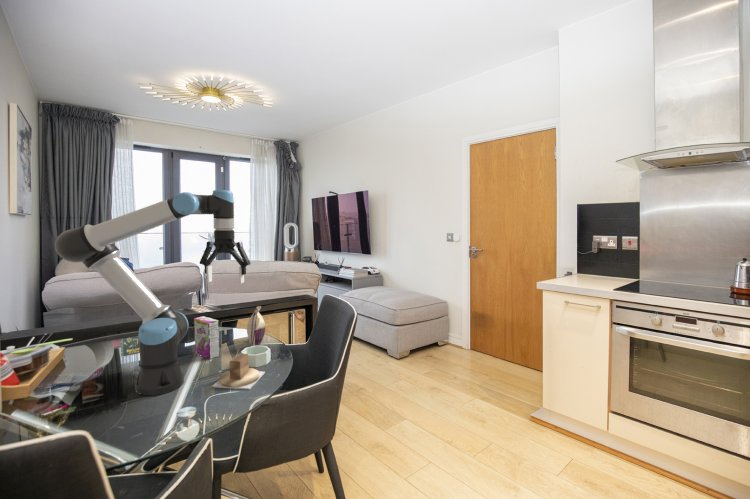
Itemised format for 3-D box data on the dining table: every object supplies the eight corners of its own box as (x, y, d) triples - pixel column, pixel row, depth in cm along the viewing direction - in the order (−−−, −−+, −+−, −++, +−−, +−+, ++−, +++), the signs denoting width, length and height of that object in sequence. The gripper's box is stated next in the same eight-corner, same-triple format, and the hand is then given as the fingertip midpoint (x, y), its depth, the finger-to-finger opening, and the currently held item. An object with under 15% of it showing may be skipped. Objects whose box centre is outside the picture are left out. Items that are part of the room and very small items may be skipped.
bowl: (237, 366, 149) (237, 354, 149) (249, 356, 160) (248, 345, 160) (263, 367, 148) (263, 355, 148) (273, 357, 159) (273, 346, 159)
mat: (212, 387, 131) (212, 386, 131) (230, 370, 145) (230, 369, 145) (249, 389, 130) (249, 388, 129) (265, 372, 143) (265, 371, 143)
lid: (212, 386, 131) (211, 364, 130) (230, 369, 145) (230, 349, 144) (249, 388, 130) (249, 366, 129) (264, 371, 143) (264, 351, 143)
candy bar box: (194, 354, 161) (193, 318, 160) (204, 351, 165) (203, 315, 164) (209, 360, 155) (208, 322, 154) (220, 356, 159) (219, 319, 158)
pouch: (263, 354, 163) (263, 312, 161) (244, 355, 161) (243, 313, 159) (267, 335, 187) (266, 299, 185) (250, 336, 185) (249, 300, 183)
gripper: (258, 229, 147) (259, 281, 149) (200, 228, 149) (201, 279, 151) (249, 230, 139) (251, 285, 141) (188, 229, 142) (190, 283, 144)
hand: (225, 282), depth 146 cm, fingers open, 13 cm apart
